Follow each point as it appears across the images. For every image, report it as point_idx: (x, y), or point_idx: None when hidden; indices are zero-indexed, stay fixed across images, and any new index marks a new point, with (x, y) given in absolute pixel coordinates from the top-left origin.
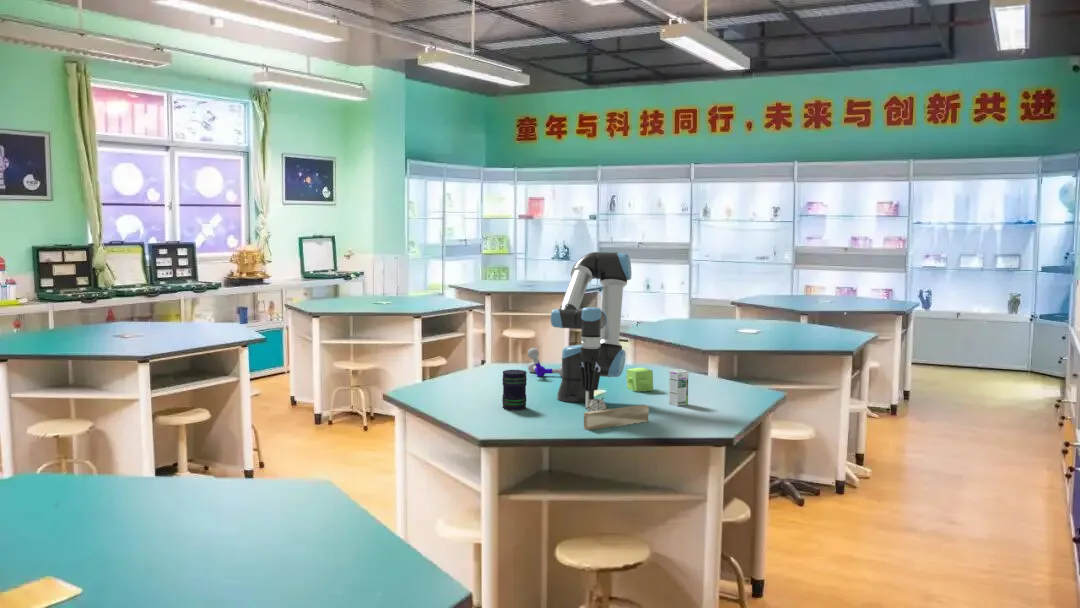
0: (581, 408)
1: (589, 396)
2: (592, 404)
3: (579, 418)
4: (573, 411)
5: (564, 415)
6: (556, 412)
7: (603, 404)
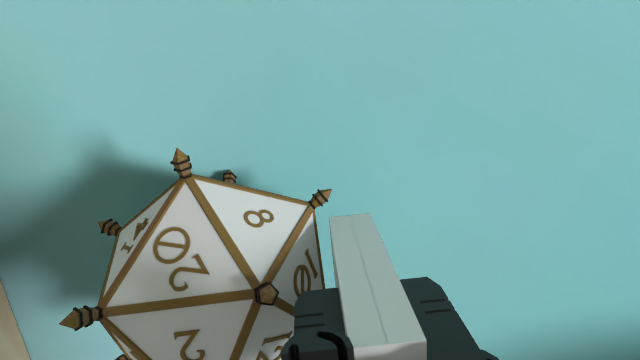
0: (628, 293)
1: (333, 313)
2: (160, 230)
3: (301, 93)
4: (573, 182)
5: (477, 18)
6: (630, 9)
7: (129, 351)
